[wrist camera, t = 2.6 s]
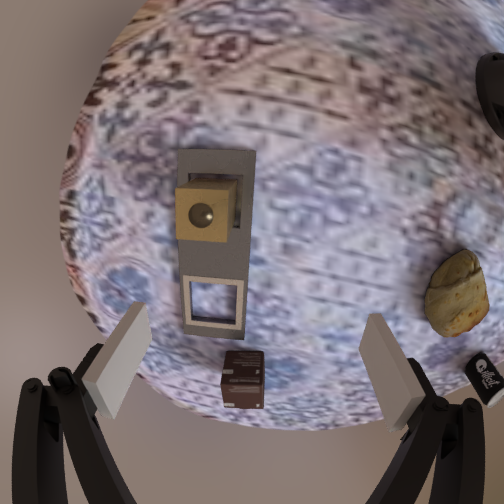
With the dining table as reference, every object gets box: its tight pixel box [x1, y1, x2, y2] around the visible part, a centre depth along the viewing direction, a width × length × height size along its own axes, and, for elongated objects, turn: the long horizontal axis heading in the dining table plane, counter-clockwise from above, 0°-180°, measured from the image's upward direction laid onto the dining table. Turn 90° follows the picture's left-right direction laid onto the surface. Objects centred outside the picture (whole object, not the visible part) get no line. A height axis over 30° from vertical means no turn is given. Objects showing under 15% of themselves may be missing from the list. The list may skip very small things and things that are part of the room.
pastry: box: [424, 250, 489, 337], centre depth 33 cm, size 14×12×8 cm
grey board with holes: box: [177, 149, 256, 340], centre depth 35 cm, size 26×9×1 cm, turn 177°
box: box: [220, 351, 265, 409], centre depth 39 cm, size 6×6×7 cm
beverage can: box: [465, 353, 504, 408], centre depth 37 cm, size 7×7×12 cm
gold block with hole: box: [175, 178, 237, 243], centre depth 29 cm, size 5×5×8 cm
